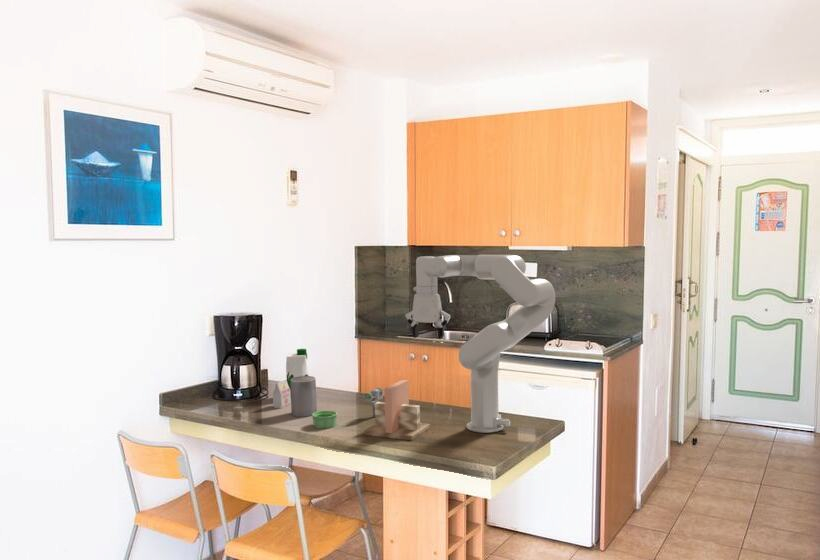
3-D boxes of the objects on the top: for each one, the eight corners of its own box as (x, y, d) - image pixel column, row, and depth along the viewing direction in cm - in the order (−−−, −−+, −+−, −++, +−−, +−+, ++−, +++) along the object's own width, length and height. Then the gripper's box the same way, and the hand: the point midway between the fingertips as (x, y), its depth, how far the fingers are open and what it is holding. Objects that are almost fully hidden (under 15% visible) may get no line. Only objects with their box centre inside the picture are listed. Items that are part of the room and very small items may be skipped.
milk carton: (308, 398, 290) (306, 351, 289) (286, 399, 289) (284, 351, 288) (309, 393, 299) (308, 347, 297) (288, 394, 298) (286, 348, 297)
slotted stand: (430, 428, 242) (429, 401, 242) (412, 440, 229) (411, 412, 228) (384, 423, 250) (383, 397, 249) (364, 434, 236) (363, 407, 236)
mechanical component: (364, 419, 255) (363, 393, 254) (378, 413, 264) (377, 387, 263) (371, 420, 254) (370, 393, 253) (385, 413, 263) (384, 387, 262)
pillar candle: (298, 409, 272) (296, 372, 271) (321, 410, 269) (319, 372, 268) (287, 416, 263) (285, 377, 261) (310, 417, 260) (309, 378, 259)
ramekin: (333, 429, 244) (333, 417, 244) (309, 428, 246) (308, 416, 245) (340, 422, 253) (340, 410, 253) (316, 421, 254) (316, 410, 254)
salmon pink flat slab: (392, 433, 232) (391, 389, 231) (385, 432, 233) (384, 388, 232) (409, 422, 245) (408, 380, 244) (402, 421, 246) (401, 379, 245)
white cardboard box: (273, 407, 276) (272, 383, 275) (283, 403, 282) (282, 379, 281) (281, 408, 275) (280, 383, 274) (290, 404, 281) (290, 380, 280)
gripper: (400, 291, 249) (402, 338, 251) (445, 291, 242) (446, 340, 244) (409, 289, 256) (410, 335, 258) (453, 290, 249) (454, 337, 250)
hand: (428, 337), depth 251 cm, fingers open, 9 cm apart
